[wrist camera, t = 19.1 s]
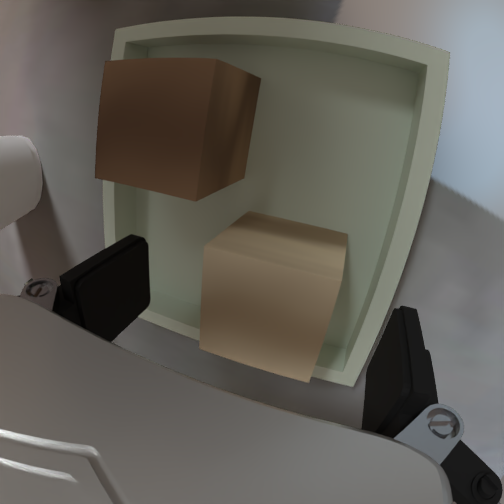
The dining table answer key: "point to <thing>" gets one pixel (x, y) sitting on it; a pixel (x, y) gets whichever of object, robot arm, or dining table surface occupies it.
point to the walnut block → (175, 124)
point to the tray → (300, 163)
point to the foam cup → (18, 178)
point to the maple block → (270, 293)
